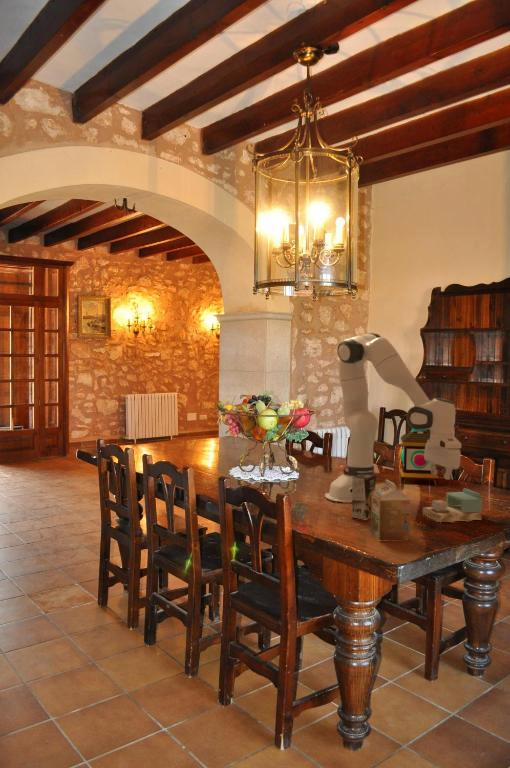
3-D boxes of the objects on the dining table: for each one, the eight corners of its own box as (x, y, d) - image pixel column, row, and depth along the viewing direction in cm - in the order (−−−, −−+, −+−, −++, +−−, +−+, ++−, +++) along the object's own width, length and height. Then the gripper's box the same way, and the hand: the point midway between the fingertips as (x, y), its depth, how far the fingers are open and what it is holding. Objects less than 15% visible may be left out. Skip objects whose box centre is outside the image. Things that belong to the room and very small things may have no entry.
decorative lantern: (441, 486, 291) (442, 423, 289) (398, 484, 294) (399, 422, 293) (436, 477, 310) (437, 419, 309) (396, 476, 314) (397, 418, 312)
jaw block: (437, 518, 232) (437, 502, 232) (431, 515, 236) (431, 500, 236) (446, 517, 233) (446, 502, 233) (441, 515, 237) (441, 499, 236)
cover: (462, 512, 230) (463, 495, 229) (445, 505, 241) (446, 488, 241) (481, 511, 232) (482, 494, 231) (464, 503, 243) (464, 487, 243)
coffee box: (367, 521, 230) (367, 478, 229) (351, 518, 234) (351, 476, 233) (375, 515, 238) (376, 474, 237) (360, 513, 241) (360, 472, 241)
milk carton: (409, 540, 206) (410, 485, 205) (379, 541, 206) (379, 485, 205) (399, 531, 217) (400, 478, 216) (370, 532, 216) (371, 479, 215)
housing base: (438, 523, 228) (438, 515, 227) (422, 514, 239) (422, 507, 239) (481, 520, 232) (481, 512, 232) (463, 512, 243) (464, 504, 243)
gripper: (421, 436, 242) (419, 471, 243) (448, 444, 223) (447, 482, 223) (435, 436, 244) (433, 471, 245) (464, 444, 224) (462, 481, 225)
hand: (440, 476), depth 234 cm, fingers open, 8 cm apart
